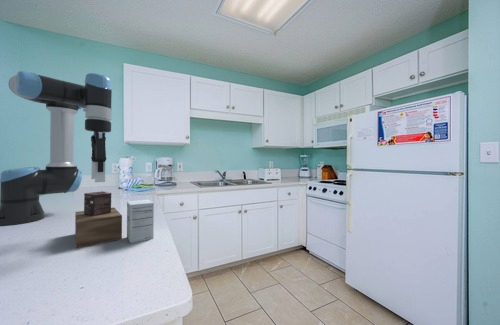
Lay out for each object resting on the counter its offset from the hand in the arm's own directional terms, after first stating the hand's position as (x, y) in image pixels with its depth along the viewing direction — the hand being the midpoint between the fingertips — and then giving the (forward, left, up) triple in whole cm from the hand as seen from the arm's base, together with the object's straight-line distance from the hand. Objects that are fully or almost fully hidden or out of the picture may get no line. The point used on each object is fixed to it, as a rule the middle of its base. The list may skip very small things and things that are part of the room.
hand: (97, 180), depth 74 cm
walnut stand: (0, 0, -20) cm, 20 cm away
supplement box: (+11, +11, -20) cm, 25 cm away
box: (0, 0, -12) cm, 12 cm away
